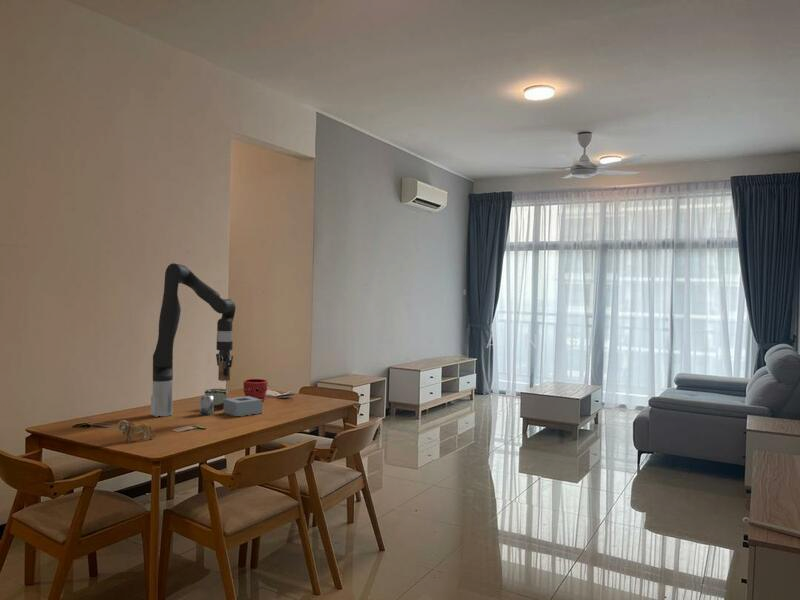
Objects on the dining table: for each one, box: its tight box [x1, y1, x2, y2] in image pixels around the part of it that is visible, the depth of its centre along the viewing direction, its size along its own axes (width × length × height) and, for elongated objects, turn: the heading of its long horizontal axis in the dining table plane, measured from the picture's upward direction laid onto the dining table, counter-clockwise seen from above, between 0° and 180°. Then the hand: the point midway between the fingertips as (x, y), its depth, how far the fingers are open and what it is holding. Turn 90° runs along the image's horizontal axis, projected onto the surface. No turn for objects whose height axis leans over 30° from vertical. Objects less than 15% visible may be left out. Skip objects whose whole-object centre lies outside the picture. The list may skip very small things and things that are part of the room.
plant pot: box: [243, 378, 268, 402], centre depth 338 cm, size 13×13×12 cm
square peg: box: [217, 361, 231, 382], centre depth 291 cm, size 4×4×9 cm
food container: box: [203, 388, 229, 410], centre depth 317 cm, size 12×6×10 cm, turn 84°
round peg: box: [199, 394, 215, 416], centre depth 301 cm, size 7×7×9 cm
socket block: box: [223, 395, 263, 418], centre depth 304 cm, size 14×14×7 cm
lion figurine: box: [117, 419, 156, 443], centre depth 247 cm, size 15×5×9 cm, turn 129°
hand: (224, 375), depth 291 cm, fingers closed on square peg, 4 cm apart
